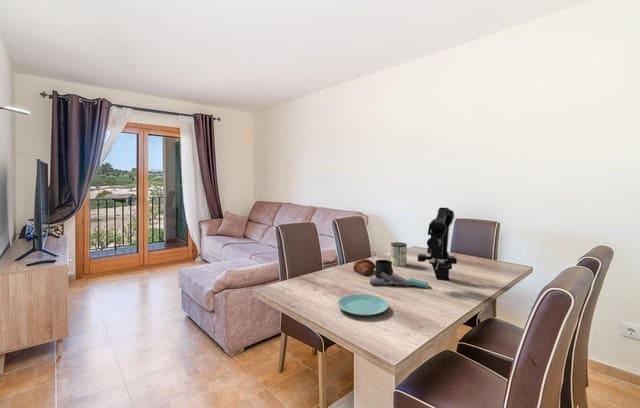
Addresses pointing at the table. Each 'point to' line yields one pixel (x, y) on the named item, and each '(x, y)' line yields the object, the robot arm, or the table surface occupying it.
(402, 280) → the domino
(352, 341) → the table surface
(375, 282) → the domino
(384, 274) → the domino
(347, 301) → the plate
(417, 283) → the domino
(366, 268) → the pastry
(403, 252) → the coffee can
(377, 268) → the mug
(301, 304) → the table surface
